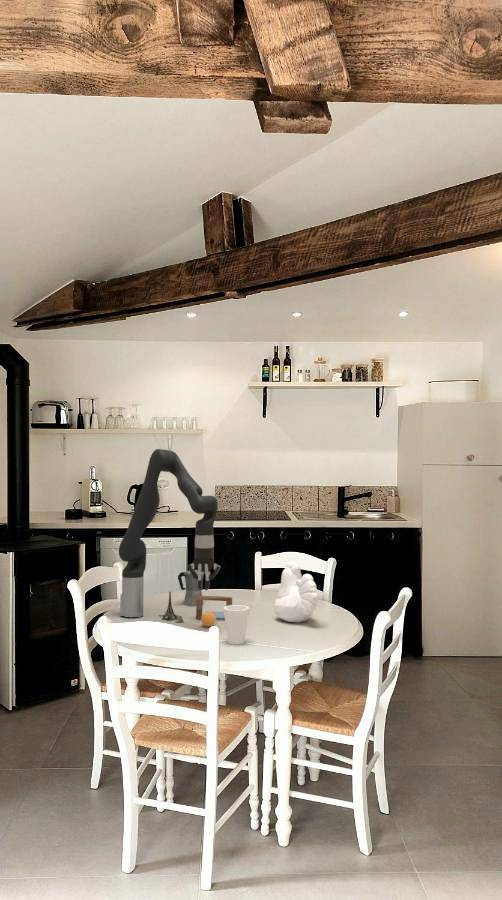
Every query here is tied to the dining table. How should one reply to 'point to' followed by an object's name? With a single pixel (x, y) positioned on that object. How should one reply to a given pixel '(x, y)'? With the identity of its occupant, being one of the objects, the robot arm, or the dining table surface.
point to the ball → (208, 619)
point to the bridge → (214, 598)
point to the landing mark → (218, 614)
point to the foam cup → (236, 623)
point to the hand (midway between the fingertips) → (203, 589)
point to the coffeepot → (190, 587)
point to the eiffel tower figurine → (171, 613)
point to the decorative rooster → (295, 595)
